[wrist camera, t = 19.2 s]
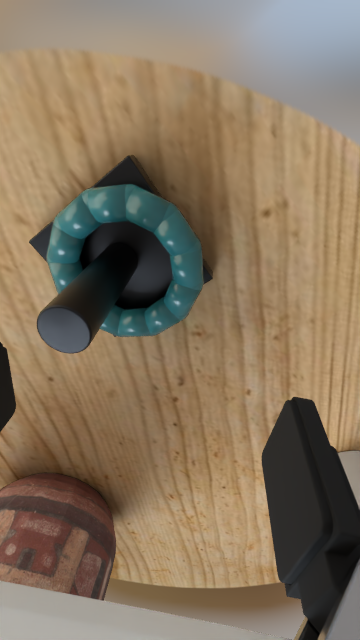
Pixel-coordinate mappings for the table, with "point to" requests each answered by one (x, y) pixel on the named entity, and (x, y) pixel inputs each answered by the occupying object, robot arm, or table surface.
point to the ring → (144, 213)
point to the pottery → (56, 535)
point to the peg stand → (107, 272)
